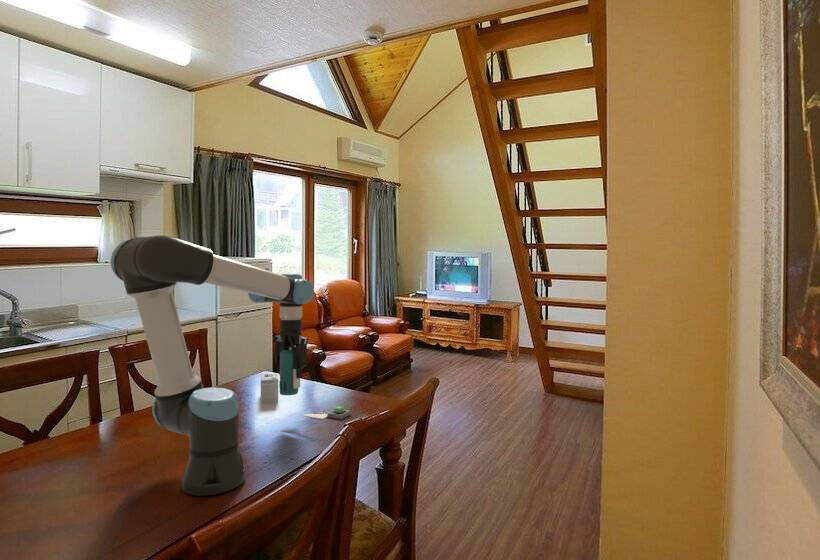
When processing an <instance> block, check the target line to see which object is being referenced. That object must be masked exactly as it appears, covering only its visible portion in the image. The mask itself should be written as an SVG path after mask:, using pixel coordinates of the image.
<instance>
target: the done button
mask: <svg viewBox="0 0 820 560" xmlns="http://www.w3.org/2000/svg"><path fill="white" fill-rule="evenodd" d="M333 410H334V412H335V413H343V412H344V410H345V407H344V406H342V405H341V406H339V405H338V406H335V407H333Z"/></svg>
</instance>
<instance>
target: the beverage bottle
mask: <svg viewBox="0 0 820 560" xmlns="http://www.w3.org/2000/svg"><path fill="white" fill-rule="evenodd" d="M283 346H290V342H289V340H285V341H284V344H283ZM294 368H295V363H294V358H293V352H292V349H291V348H289V349H287V350H282V351H281V352H280V375H279V380H278V391H279V395H281V396H295V395H297V394H299V389H300V387H298V388H293V369H294Z"/></svg>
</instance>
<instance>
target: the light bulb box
mask: <svg viewBox="0 0 820 560" xmlns="http://www.w3.org/2000/svg"><path fill="white" fill-rule="evenodd" d="M278 402H279V373H267V374H263V373H262V374H261V375H260V404H271V403H272V404H276V403H278Z"/></svg>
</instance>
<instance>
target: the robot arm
mask: <svg viewBox="0 0 820 560" xmlns="http://www.w3.org/2000/svg"><path fill="white" fill-rule="evenodd" d="M110 257H111V258H110V266H111V270H112V272H113V274H114V275H115V277H117V278H118V279H120V281H122V282H123V284H124V288H125V292H126V295H127V296H129V297H131V298H133V299H135V302H136V306H137V309H138V313H139V316H140V320H141V324H142V328H143V331H144V335H145V339H146V342H147V345H148V349H149V353H150V357H151V361H152V364H153V367H154V371H155V374H156V375H155V376H156V378H157V382H158V385H157V387H156V388H155V389H154V392H153V393H154V396H155V400H154V402H152V403H153V404H152V411H151V413H152V416H153V419H154V420H155V422H156V423H157V424H158V426H160V427H162V428H163V429H165V430H167V431H169V432H172V433H176V434H180V435H182V436H186V437H189V457H188V461H187V464H186V468H185V472H184V475H183V476H182V478H181V479H182V481H181V482H182V483H181V484H182V485H181V486H182V487H181V488H182V491H183V492H185V493H186V494H188V495H192V496H212V495H213V496H214V495H218V494H222V493H225V492H226V493H227V492H229V491H231V490H234V489H236V488H238V487H240V486H241V485H242V484H243V483H244V482H245V480H246V479H247V471H246V470H247V468H246V465H245V463H244V460H243V458H242V455H241V452H240V449H239V448H240V447H239V411H240V406H239V399H238V395H237V393H236V392H235V391H233V390H231V389H228V388H224V387H216V386H215V387H204V385H203V382H202V378H201V377H200V376H198V375H196V374H194V372H193V371H194V370H193V367H192V364H191V361H190V357H189V352H188V347H187V343H186V339H185V336H184V332H183V328H182V324H181V320H180V316H179V314H178V312H179V311H178V309H177V306H176V301H175V296H174V293H173V291H174V289H175V287H176V286H177V285H178V283H183V284H184V283H185V284H191V285H192V284H193V285H196V286H201V285H203V284H209V285H215V286H217V287H222V288H226V289H231V290H235V291H238V292H239V291H240V292H243V293H247V296H248V298H249V300H251V302H253V303H260V304H262V303H275V304H279V318H280V319H279V331H280V334H279V335H274V336H273V341H274V362H273V363H274V365H275V366H276V365H277V366H278V369H279V370H278V371H279V373H278V376H280V352H281V351H282V350H287V349H292V352H293V358H294V363H295V368H294V369H293V388H298V387H299V388H300V387H301V378H302V377H303V375H302V374H303V368H305V367H307V366H308V343H309V338H308V337H304V336H302V331H303V330H302V329H303V319H302V318H303V305H304V304H308V303H310V302H311V301H312V300H313V297H314V292H315V291H314V290H315V289H314V285H313V284H312V282H311V281H310V280H308V279H303V277H302V276H303V275H301V274H300V273H299V274H298V273H281V274H279V273H276V272H273V271H271V270H270V271H269V270H267V269H263V268H260V267H257V266H253V265H250V264H246V263H243V262H239V261H236V260H234V259H230V258H226V257H223V256H220V255H216V254H214V252H213V251H212V250H211V248H208V247H205V246H200V245H198V244H195V243H191V242H190V241H187V240H183V239H181V238H177V237H173V236H169V235H164V234H163V235H162V234H161V235H153V236H151V235H150V236H139V237H138V236H135V237H132V238H129V239H126V240H124V241H122V242H120V243H119V244H118V245H117V246H116V247H115V249H114V250H113V252H112V254H111V256H110ZM285 340H289V342H290V346H283V344H284V341H285ZM299 388H298V389H299Z"/></svg>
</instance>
